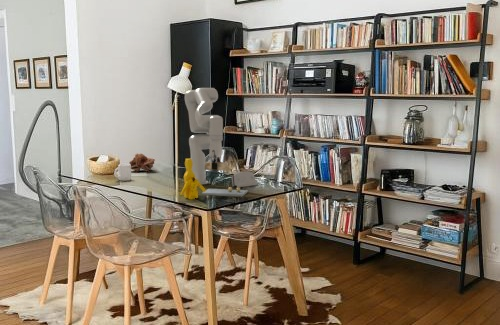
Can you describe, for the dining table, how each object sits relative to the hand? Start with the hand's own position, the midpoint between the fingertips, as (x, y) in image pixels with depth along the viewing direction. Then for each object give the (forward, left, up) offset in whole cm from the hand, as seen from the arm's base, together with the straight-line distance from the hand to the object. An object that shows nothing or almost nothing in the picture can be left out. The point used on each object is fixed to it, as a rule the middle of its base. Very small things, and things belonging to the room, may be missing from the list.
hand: (216, 168), depth 302 cm
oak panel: (0, 0, -1) cm, 1 cm away
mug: (-75, +31, -15) cm, 83 cm away
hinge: (+9, +31, -15) cm, 35 cm away
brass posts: (+11, +1, -14) cm, 17 cm away
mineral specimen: (-80, +73, -15) cm, 109 cm away
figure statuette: (-10, -16, -15) cm, 24 cm away
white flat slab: (+5, +1, -15) cm, 16 cm away
